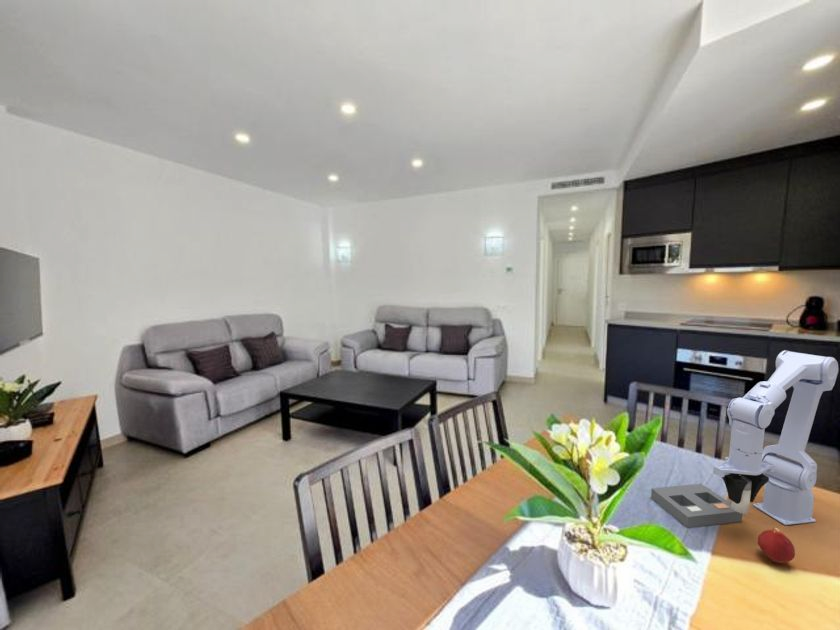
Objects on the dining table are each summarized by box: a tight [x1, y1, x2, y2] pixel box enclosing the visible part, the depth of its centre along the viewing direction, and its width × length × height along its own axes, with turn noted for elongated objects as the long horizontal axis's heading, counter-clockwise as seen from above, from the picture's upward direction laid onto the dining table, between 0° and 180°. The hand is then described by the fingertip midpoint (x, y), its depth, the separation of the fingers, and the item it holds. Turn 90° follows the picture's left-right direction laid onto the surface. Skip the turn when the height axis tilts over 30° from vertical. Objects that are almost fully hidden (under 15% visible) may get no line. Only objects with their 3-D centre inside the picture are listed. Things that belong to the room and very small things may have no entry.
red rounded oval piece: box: [757, 527, 796, 564], centre depth 78 cm, size 6×6×8 cm
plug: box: [730, 476, 752, 515], centre depth 85 cm, size 3×3×8 cm
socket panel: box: [650, 483, 743, 529], centre depth 96 cm, size 16×12×3 cm
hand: (740, 500), depth 85 cm, fingers closed on plug, 3 cm apart
